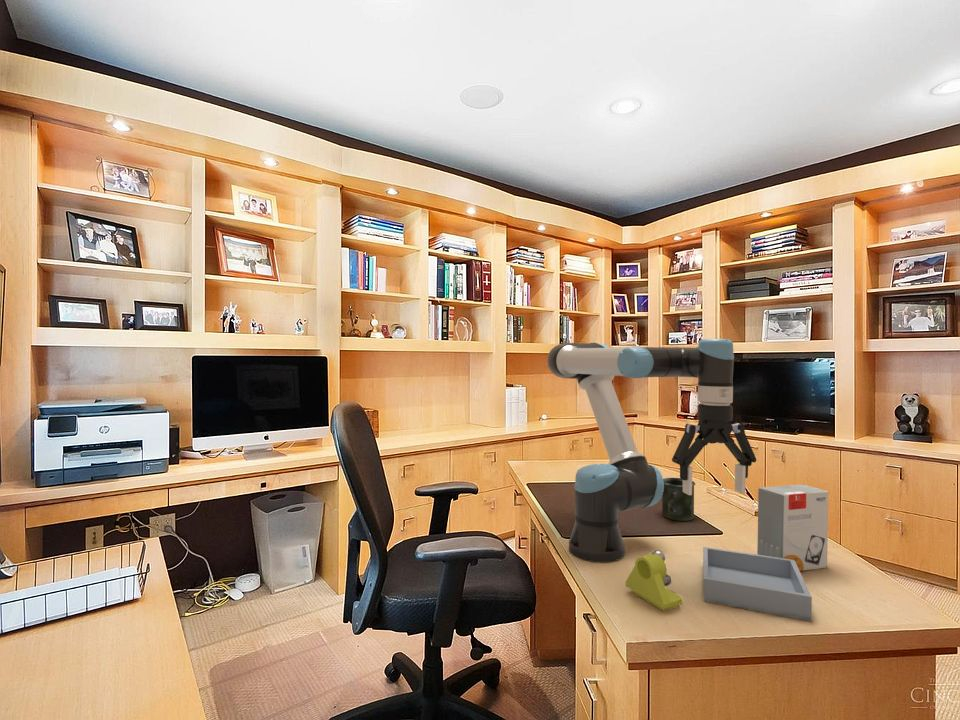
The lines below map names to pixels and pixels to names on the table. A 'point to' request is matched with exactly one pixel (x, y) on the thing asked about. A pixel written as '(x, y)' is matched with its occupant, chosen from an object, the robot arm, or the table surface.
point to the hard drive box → (794, 524)
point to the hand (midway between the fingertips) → (713, 492)
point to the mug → (677, 500)
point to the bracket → (652, 582)
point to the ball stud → (667, 579)
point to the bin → (755, 583)
